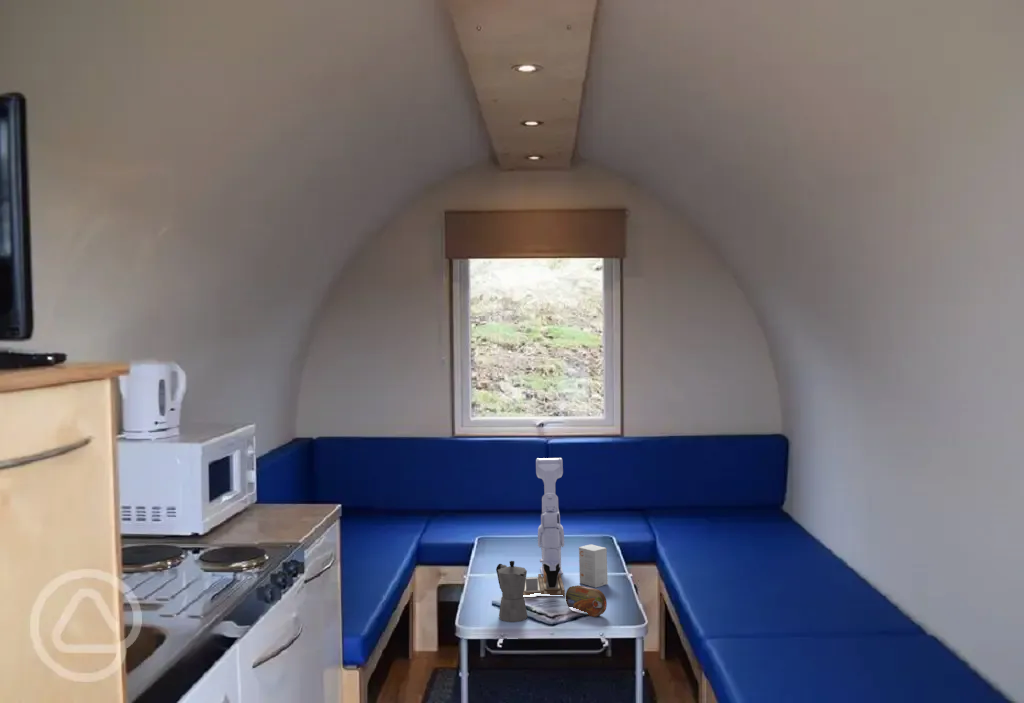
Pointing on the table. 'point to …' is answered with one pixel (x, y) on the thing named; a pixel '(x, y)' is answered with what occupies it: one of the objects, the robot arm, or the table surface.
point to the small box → (593, 565)
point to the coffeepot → (512, 592)
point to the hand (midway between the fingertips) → (552, 585)
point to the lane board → (551, 592)
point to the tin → (586, 600)
